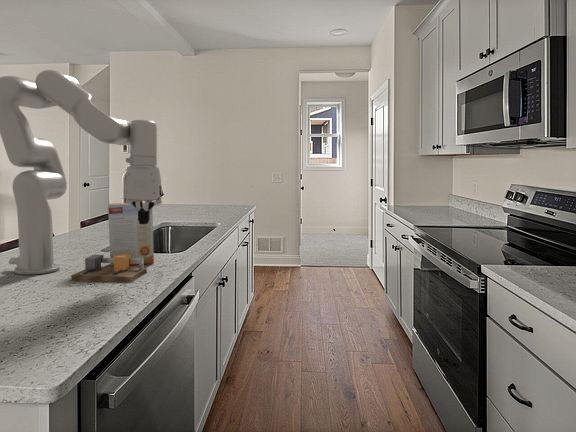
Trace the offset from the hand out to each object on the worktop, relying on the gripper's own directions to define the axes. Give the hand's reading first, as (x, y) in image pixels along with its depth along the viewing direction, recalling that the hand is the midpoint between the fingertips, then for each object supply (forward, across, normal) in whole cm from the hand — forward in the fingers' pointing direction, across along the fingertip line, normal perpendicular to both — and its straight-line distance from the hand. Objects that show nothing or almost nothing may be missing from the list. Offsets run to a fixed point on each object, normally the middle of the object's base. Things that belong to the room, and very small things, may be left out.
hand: (143, 223), depth 145 cm
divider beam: (+15, -10, -1) cm, 18 cm away
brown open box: (+16, -10, -2) cm, 19 cm away
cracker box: (+17, -11, +17) cm, 26 cm away
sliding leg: (+14, -7, -1) cm, 16 cm away
